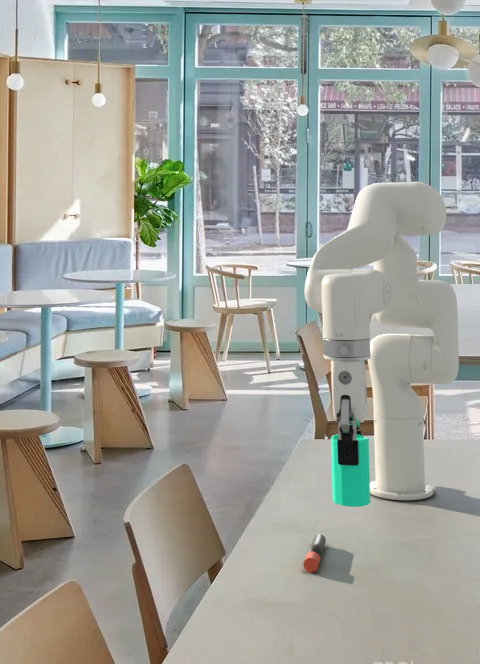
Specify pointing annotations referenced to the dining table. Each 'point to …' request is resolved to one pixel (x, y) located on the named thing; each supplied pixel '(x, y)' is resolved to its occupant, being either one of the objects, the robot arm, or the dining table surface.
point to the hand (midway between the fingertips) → (350, 458)
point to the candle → (351, 476)
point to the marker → (314, 553)
